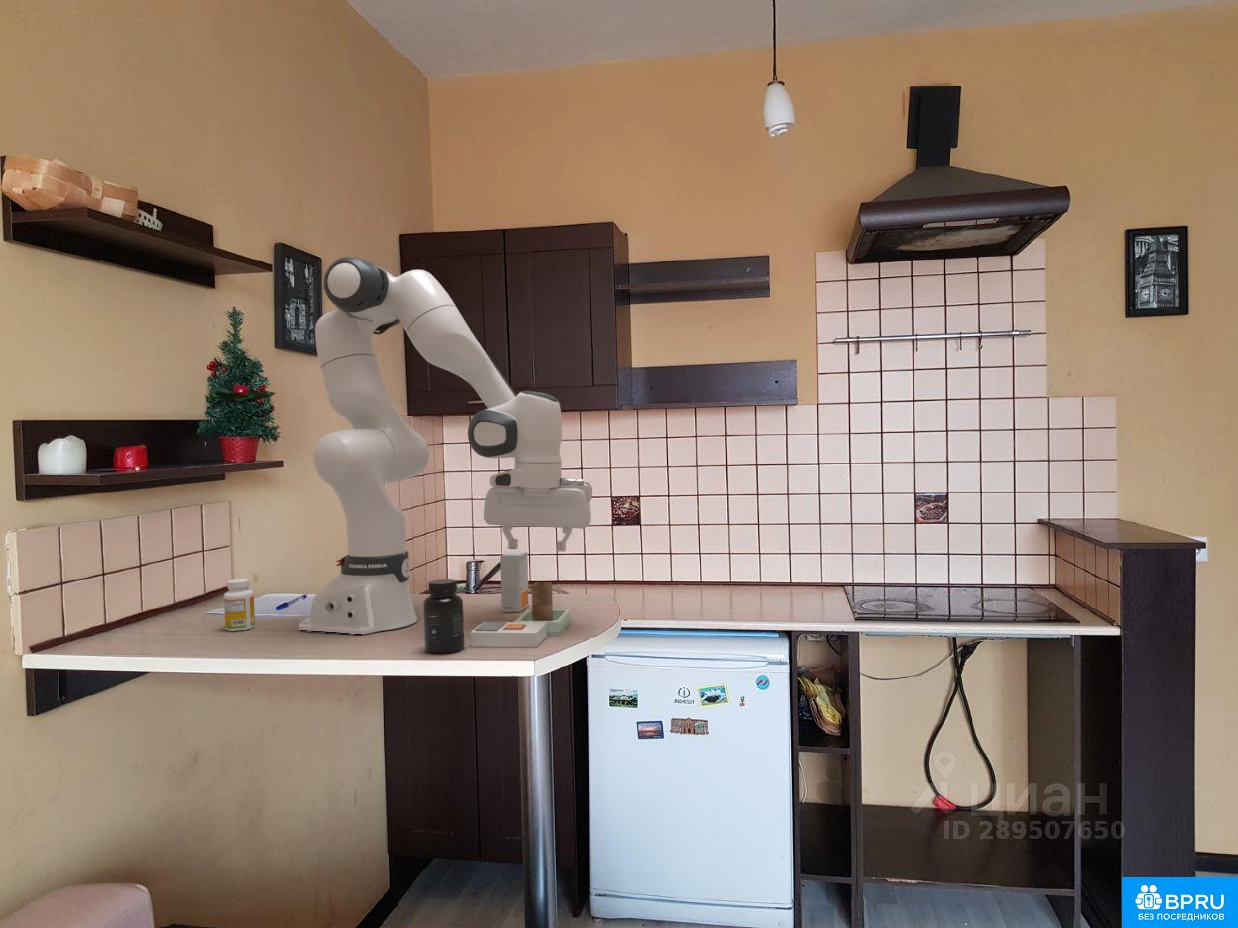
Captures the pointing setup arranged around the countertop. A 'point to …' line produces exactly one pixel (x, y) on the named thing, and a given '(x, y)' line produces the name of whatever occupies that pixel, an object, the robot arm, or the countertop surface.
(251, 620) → the supplement bottle
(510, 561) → the skincare box
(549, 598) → the wooden block
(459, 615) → the supplement bottle
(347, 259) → the robot arm
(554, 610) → the bay tray
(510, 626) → the button
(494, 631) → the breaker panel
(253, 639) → the countertop surface
